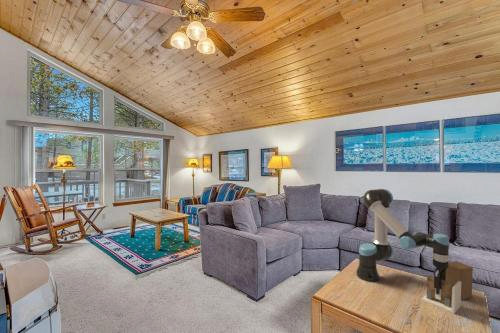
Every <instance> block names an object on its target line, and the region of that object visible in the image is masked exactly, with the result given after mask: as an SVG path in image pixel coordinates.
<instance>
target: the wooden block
mask: <svg viewBox="0 0 500 333" xmlns="http://www.w3.org/2000/svg"><path fill="white" fill-rule="evenodd" d="M473 270H474V269H473V267H472V266H471V265H467V264H465V263H462V262H460V261H457V260H455V261H448V268H447V269H446V281H448V282H451V283H454V285H455V284H456V283H457V282H458V281H460V282H461V301H463V300H466V299H470V298H472V297H473V273H474V272H473Z"/></svg>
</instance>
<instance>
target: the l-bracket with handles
mask: <svg viewBox="0 0 500 333" xmlns="http://www.w3.org/2000/svg"><path fill="white" fill-rule="evenodd" d="M420 300H421V301H422V302H425V303H427V304H429V305H431V306H433V307H436V308H438V309H440V310H443V311H446V312H447V313H451V314H453V315H454V314H456V313H457V311H459V309H460V308H461V306H462V300H461V282H460V281H458V282H457V283H456V284H455V285H454V286H453V287H452V305H450V299H449V298H446V297H445V300H444V303H443V302H441V301H438V300H436V299H433V298H432V292H431V291H428V290H427V289H426V294H425V295H424V296H423V297H421V299H420Z"/></svg>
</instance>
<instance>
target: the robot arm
mask: <svg viewBox="0 0 500 333" xmlns="http://www.w3.org/2000/svg"><path fill="white" fill-rule="evenodd" d="M393 196H394V195H393V193H392V192H390V190H388V189H385V188H378V189H369V190H367V191H366V192H365V193H364V194H363V203H364V204H365V206H366V207H367V208H368V210H369V211H372V212H373V213H374V239H373V240H372V243H367V242H366V243H362V244H360V245H359V247H358V248H359V249H358V257H359V258H358V267H357V270H356V276H357V278H359V279H360V280H362V281H363V280H364V281H367V282H377V281H379V280H380V274H379V271H378V268H377V263H378V262H382V261H387V260H389V259H391V258H392V257H393V255H394V249H393V247H392V245H391V243H390V242H389V241H388V229H389V230H390V231H391V232H392V233H393V234H394V235H395V236H396V237H397V238H398V239H399V245H400V246H401V247H402V248H403V249H405V250H412V249H415V248H420V247H426V248H427V247H428V248H431V249H432V266H434V267H435V270H434V272H433V277H434V288H435V298H436V299H439V300H441V280H445V281H446V269H447V268H448V262H449V259H451V258H450V256H449V253H450V251H449V248H450V238H449V237H450V236H448V235H446V234H444V233H434V234H433V235H431V234H429V233H428V234H427V233H424V232H421V231H414V232H413V233H411V232H410V231H409V230H408V229H407V228H406V227H405V226H404V225H403V224H402V223H401V222H400V221H399V220H398V219H397V218H396V217H395V216H394V215H393V214H392V213H391V212H390V210H388V209H389V208H390V204H391V203H392V202H393V200H394V197H393Z"/></svg>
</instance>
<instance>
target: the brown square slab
mask: <svg viewBox="0 0 500 333" xmlns="http://www.w3.org/2000/svg"><path fill="white" fill-rule="evenodd" d="M426 278H427V279H426V291H427V290H428V291H431V292H432V298H433V299H436V298H435V288H434V275H428V276H427V277H426ZM453 286H454V283H451V282H448V281H445V280H441V300H439V299H436V300H438V301H441V302H443V303H444V300H445V297H446V298H449V299H450V305H452V287H453Z"/></svg>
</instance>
